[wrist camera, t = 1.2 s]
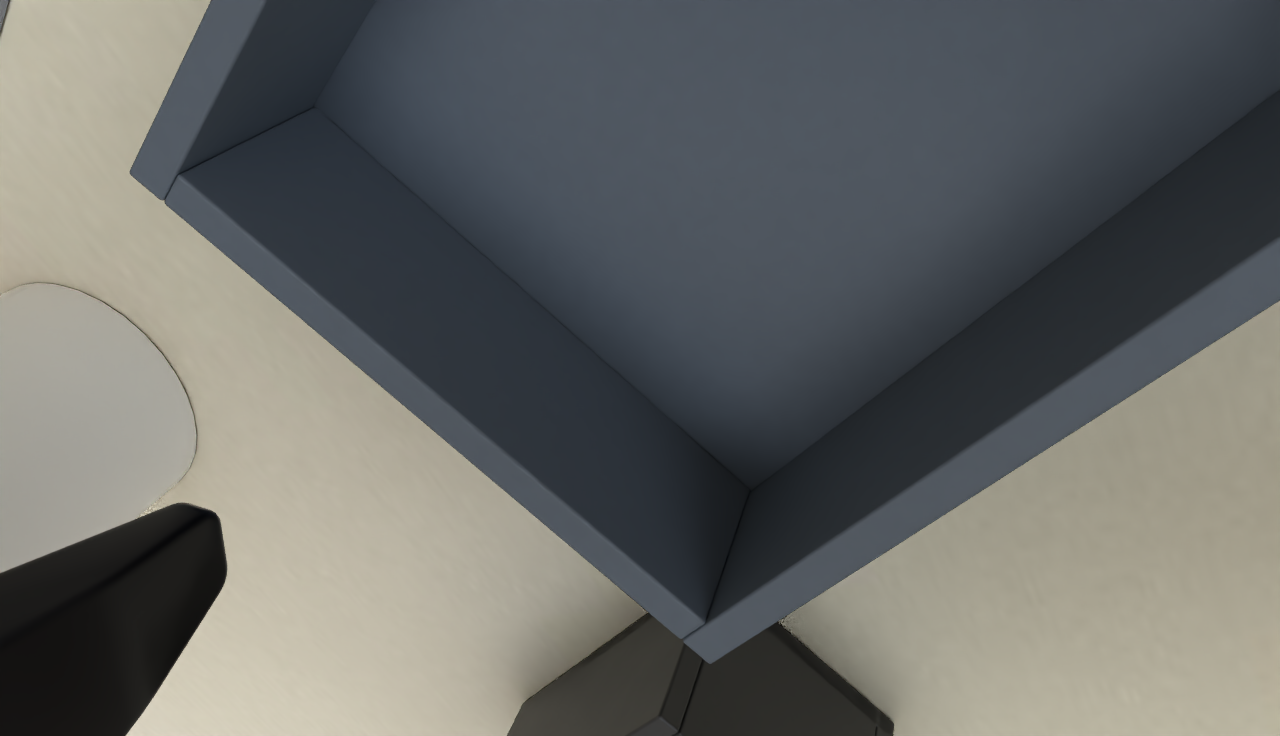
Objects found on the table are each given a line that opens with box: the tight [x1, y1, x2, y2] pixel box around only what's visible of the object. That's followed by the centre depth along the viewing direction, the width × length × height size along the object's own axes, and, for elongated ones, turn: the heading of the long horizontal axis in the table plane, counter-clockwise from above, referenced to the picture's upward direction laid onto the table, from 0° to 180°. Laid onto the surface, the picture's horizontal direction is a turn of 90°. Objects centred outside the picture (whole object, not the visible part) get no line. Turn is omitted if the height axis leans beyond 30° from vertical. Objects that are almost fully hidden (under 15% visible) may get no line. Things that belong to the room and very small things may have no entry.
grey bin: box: [130, 0, 1280, 664], centre depth 17 cm, size 15×17×5 cm
